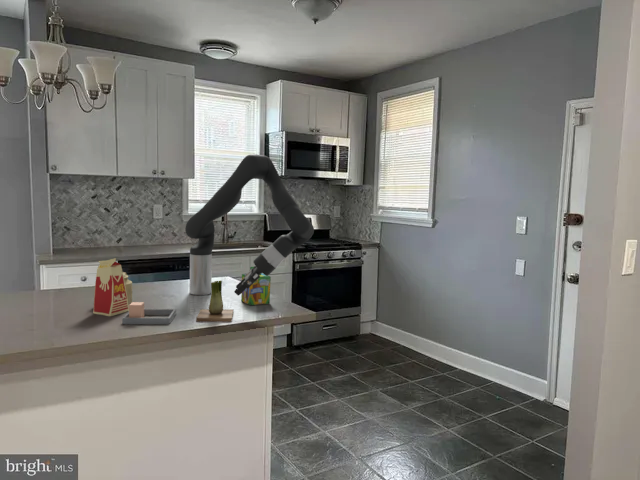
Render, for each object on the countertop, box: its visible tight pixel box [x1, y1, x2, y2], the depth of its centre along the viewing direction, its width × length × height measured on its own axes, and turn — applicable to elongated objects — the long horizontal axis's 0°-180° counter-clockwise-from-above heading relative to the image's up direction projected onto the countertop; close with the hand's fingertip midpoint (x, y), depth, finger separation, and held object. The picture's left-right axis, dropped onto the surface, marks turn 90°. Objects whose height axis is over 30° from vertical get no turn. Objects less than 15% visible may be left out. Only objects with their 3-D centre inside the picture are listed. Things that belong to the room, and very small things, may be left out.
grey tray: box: [121, 308, 177, 325], centre depth 163 cm, size 12×15×2 cm
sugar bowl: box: [122, 271, 133, 305], centre depth 182 cm, size 15×11×15 cm
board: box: [195, 308, 234, 323], centre depth 168 cm, size 12×12×1 cm
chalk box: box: [240, 266, 272, 306], centre depth 191 cm, size 9×9×15 cm
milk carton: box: [92, 257, 129, 317], centre depth 168 cm, size 9×9×20 cm
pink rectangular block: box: [128, 301, 145, 318], centre depth 160 cm, size 4×4×6 cm
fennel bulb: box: [208, 280, 224, 314], centre depth 168 cm, size 6×5×12 cm
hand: (236, 291), depth 168 cm, fingers open, 8 cm apart
